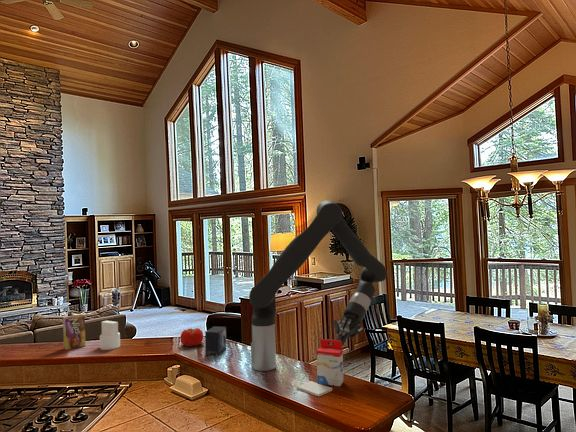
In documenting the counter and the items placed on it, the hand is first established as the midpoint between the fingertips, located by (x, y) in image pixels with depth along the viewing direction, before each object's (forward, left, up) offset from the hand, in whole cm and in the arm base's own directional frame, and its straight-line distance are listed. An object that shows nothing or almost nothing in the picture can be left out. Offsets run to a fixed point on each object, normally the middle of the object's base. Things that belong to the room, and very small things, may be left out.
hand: (338, 345), depth 154 cm
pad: (0, -13, -12) cm, 18 cm away
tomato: (-81, -12, -12) cm, 83 cm away
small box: (-62, -11, -12) cm, 64 cm away
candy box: (-122, -52, -12) cm, 133 cm away
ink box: (0, -5, -12) cm, 13 cm away
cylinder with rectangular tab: (-109, -40, -12) cm, 117 cm away
